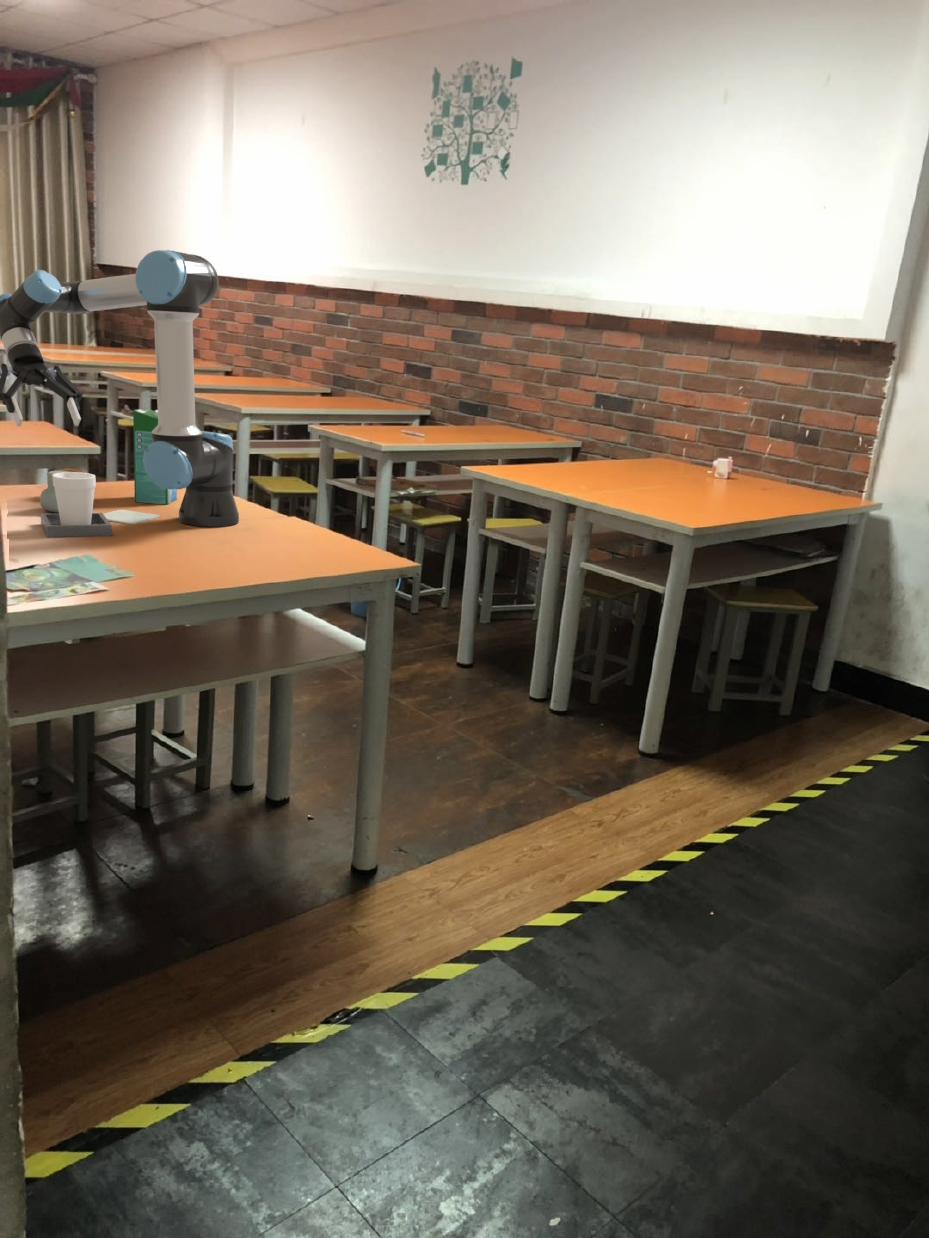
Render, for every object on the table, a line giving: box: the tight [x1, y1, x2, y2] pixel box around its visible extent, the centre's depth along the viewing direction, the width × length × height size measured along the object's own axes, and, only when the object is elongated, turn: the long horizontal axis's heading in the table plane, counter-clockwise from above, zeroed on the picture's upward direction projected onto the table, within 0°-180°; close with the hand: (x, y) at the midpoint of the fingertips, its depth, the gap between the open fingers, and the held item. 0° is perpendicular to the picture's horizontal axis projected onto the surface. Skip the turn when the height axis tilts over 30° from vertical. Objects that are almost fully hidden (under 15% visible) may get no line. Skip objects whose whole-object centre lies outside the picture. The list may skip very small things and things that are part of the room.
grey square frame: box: [40, 512, 113, 538], centre depth 228 cm, size 14×14×2 cm
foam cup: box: [53, 472, 97, 525], centre depth 226 cm, size 10×9×13 cm
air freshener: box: [39, 470, 68, 514], centre depth 245 cm, size 11×8×10 cm
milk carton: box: [132, 407, 178, 505], centre depth 265 cm, size 9×9×25 cm
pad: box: [103, 509, 162, 526], centre depth 245 cm, size 12×12×1 cm
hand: (49, 422), depth 228 cm, fingers open, 13 cm apart
